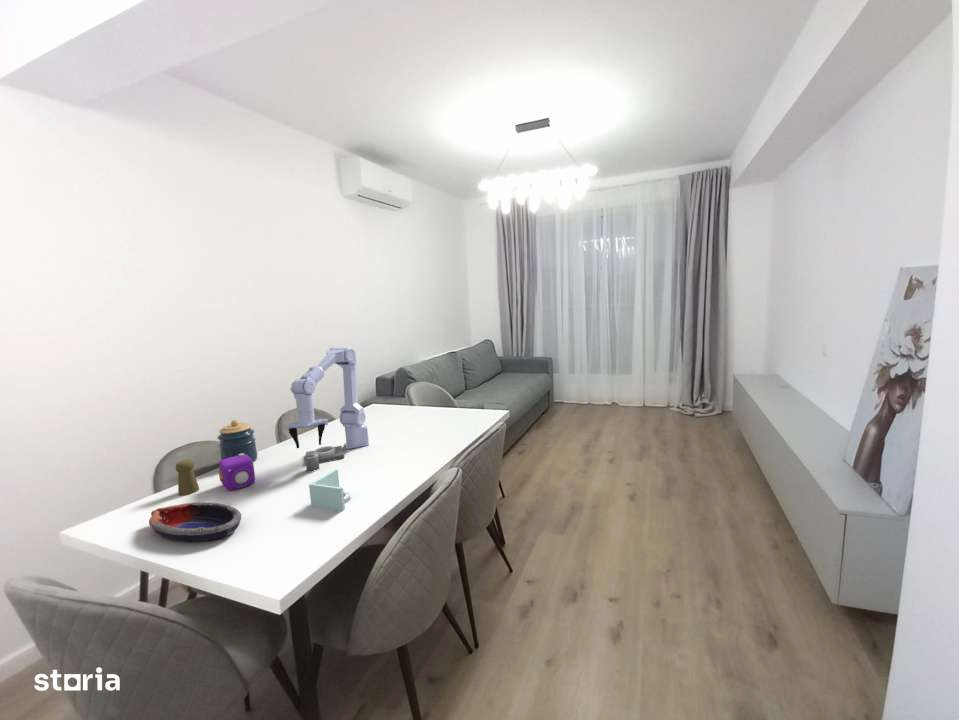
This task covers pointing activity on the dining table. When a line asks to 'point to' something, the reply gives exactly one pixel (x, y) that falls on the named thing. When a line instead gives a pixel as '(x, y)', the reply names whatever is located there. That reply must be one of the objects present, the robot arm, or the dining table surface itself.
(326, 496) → the right angle wall
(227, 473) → the toy camera
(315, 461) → the lens
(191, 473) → the olive chess piece
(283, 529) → the dining table surface
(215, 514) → the dish
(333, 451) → the grey flat piece
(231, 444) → the canister
